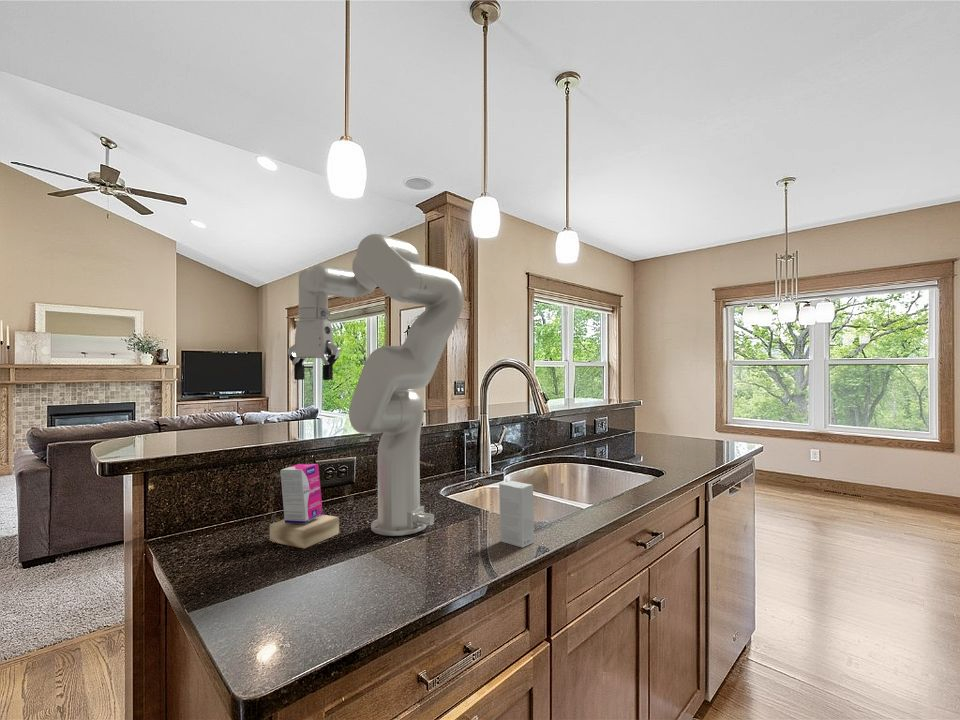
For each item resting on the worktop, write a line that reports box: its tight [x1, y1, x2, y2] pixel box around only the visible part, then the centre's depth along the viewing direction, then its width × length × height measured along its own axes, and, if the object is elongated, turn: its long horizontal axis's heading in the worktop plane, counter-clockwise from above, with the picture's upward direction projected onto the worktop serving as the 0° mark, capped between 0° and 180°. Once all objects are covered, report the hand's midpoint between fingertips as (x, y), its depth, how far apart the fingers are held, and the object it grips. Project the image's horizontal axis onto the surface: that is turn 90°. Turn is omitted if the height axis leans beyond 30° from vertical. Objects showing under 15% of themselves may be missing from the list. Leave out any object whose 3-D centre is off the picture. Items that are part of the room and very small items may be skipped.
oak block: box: [269, 514, 340, 549], centre depth 106 cm, size 10×10×4 cm
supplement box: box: [279, 463, 324, 523], centre depth 106 cm, size 6×6×12 cm
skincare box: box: [498, 480, 535, 549], centre depth 101 cm, size 6×4×12 cm
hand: (313, 379), depth 132 cm, fingers open, 9 cm apart
